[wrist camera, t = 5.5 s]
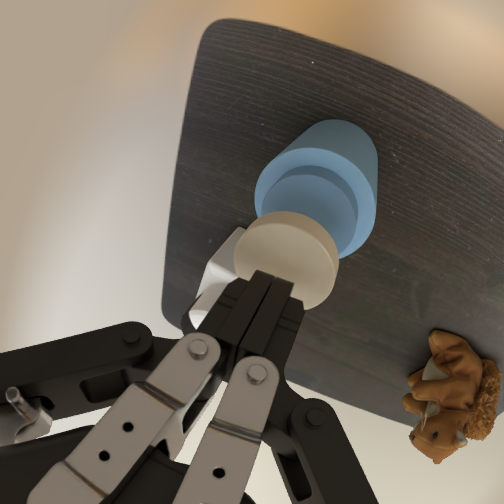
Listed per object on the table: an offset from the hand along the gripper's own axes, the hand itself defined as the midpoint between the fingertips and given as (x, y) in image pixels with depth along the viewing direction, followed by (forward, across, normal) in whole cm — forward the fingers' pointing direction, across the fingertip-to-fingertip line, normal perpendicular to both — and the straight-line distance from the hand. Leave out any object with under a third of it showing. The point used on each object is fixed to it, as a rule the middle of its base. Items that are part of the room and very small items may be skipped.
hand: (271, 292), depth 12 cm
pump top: (+5, 0, 0) cm, 5 cm away
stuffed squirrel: (+18, -23, +18) cm, 34 cm away
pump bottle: (+18, 0, 0) cm, 18 cm away
